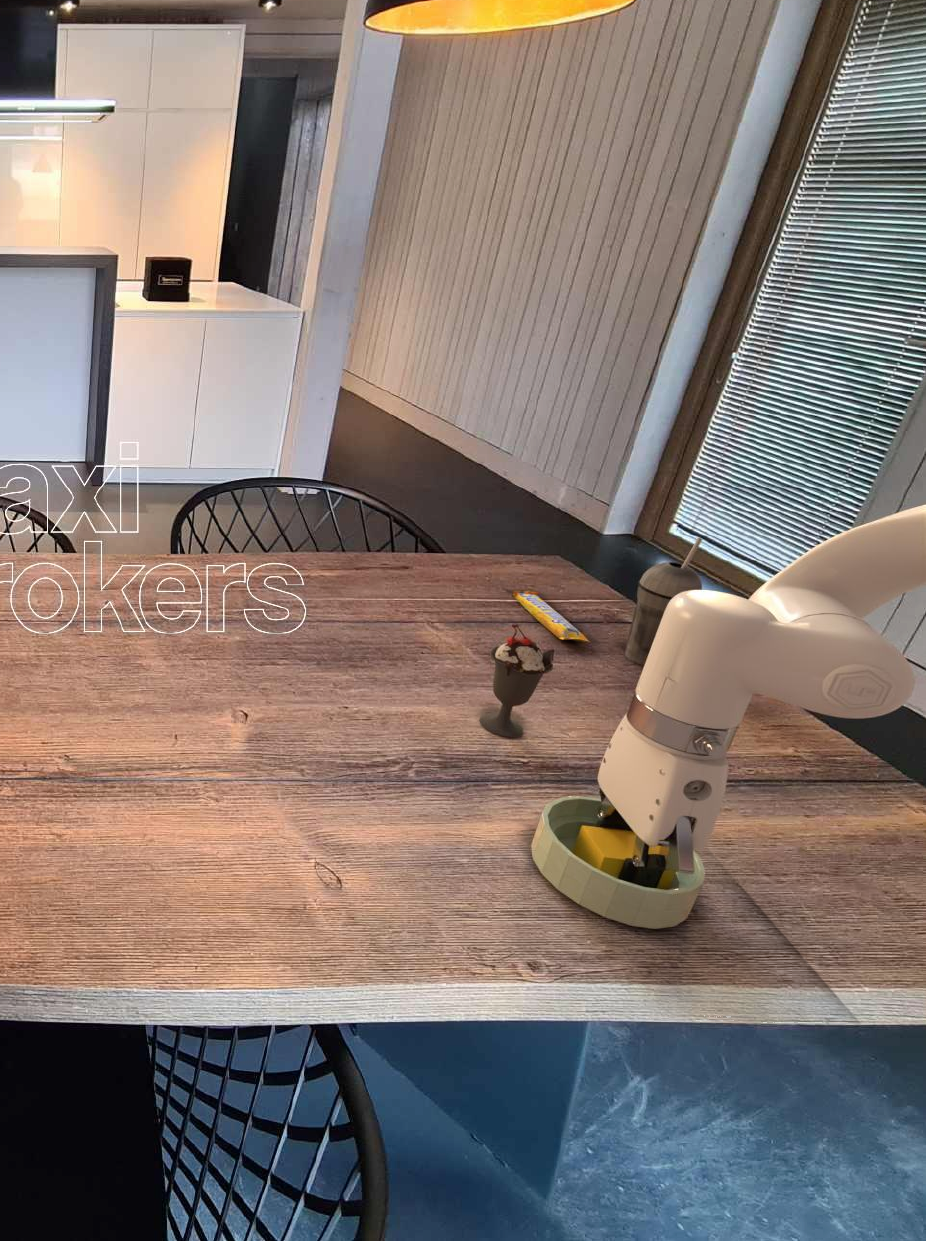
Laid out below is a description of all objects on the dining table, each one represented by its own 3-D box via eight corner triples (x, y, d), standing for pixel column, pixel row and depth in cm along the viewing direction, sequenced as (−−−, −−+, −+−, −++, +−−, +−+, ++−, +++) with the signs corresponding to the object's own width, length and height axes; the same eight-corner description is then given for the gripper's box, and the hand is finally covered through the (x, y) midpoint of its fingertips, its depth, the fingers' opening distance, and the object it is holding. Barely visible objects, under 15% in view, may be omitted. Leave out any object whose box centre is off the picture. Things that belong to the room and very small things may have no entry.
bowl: (640, 841, 87) (655, 804, 85) (719, 942, 75) (738, 902, 73) (508, 825, 89) (520, 789, 87) (565, 922, 77) (581, 882, 75)
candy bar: (508, 597, 140) (511, 587, 139) (534, 598, 140) (537, 589, 139) (561, 647, 125) (564, 636, 124) (590, 649, 124) (593, 638, 123)
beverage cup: (621, 641, 126) (664, 522, 119) (679, 660, 121) (728, 537, 113) (607, 657, 122) (650, 534, 114) (666, 677, 117) (716, 550, 109)
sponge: (640, 863, 83) (652, 833, 82) (665, 897, 79) (679, 865, 78) (570, 855, 84) (581, 825, 83) (592, 888, 80) (604, 857, 79)
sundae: (460, 719, 107) (488, 619, 101) (492, 706, 110) (521, 608, 104) (509, 747, 102) (542, 643, 96) (541, 733, 105) (575, 631, 99)
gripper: (793, 787, 66) (714, 949, 73) (670, 676, 82) (614, 819, 89) (690, 777, 68) (622, 937, 75) (588, 669, 83) (539, 810, 90)
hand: (619, 871), depth 82 cm, fingers closed on sponge, 4 cm apart
